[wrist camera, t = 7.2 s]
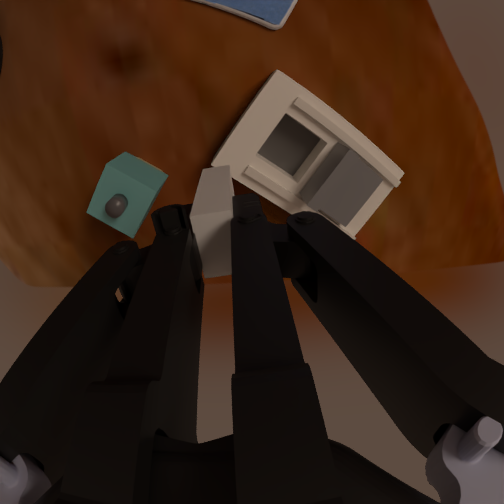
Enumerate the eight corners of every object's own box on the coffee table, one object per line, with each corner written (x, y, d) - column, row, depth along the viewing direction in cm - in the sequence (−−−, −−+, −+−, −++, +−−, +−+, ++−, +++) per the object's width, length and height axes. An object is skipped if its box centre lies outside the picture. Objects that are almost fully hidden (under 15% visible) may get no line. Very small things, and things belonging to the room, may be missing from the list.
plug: (115, 184, 31) (79, 219, 23) (134, 145, 29) (99, 168, 21) (153, 205, 33) (128, 246, 24) (173, 167, 31) (152, 198, 23)
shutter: (299, 192, 30) (306, 205, 27) (337, 142, 27) (350, 148, 24) (342, 223, 32) (353, 237, 29) (379, 177, 29) (394, 187, 26)
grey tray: (212, 158, 31) (210, 166, 28) (273, 71, 26) (278, 68, 23) (335, 236, 36) (345, 251, 33) (392, 165, 32) (406, 174, 29)
